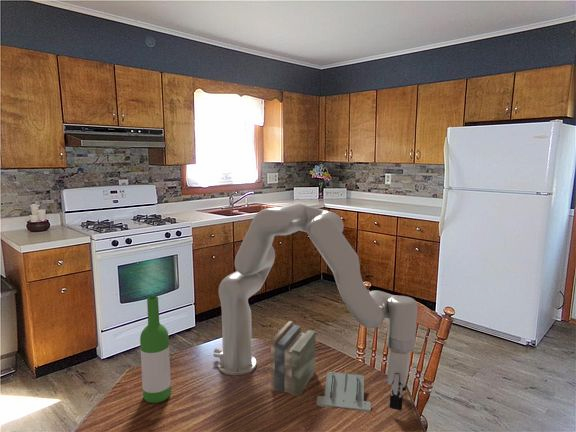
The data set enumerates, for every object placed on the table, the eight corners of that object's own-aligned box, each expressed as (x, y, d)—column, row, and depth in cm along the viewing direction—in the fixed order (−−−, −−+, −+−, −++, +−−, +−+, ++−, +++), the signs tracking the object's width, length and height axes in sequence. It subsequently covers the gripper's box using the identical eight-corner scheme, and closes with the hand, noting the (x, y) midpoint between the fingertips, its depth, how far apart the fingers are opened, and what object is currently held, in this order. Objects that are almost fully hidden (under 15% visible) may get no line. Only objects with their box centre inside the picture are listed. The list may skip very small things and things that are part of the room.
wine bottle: (137, 398, 116) (131, 298, 111) (159, 385, 122) (155, 290, 118) (154, 408, 112) (149, 304, 107) (176, 394, 118) (173, 296, 113)
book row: (271, 389, 121) (270, 339, 118) (289, 366, 134) (289, 320, 131) (299, 396, 117) (299, 345, 115) (314, 372, 130) (315, 325, 128)
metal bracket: (321, 364, 124) (370, 369, 122) (321, 378, 127) (369, 383, 124) (315, 403, 112) (371, 410, 109) (316, 418, 114) (370, 424, 111)
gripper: (391, 326, 120) (389, 380, 123) (382, 353, 104) (379, 413, 107) (417, 331, 117) (414, 385, 120) (412, 358, 101) (408, 420, 104)
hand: (398, 398), depth 113 cm, fingers open, 9 cm apart
